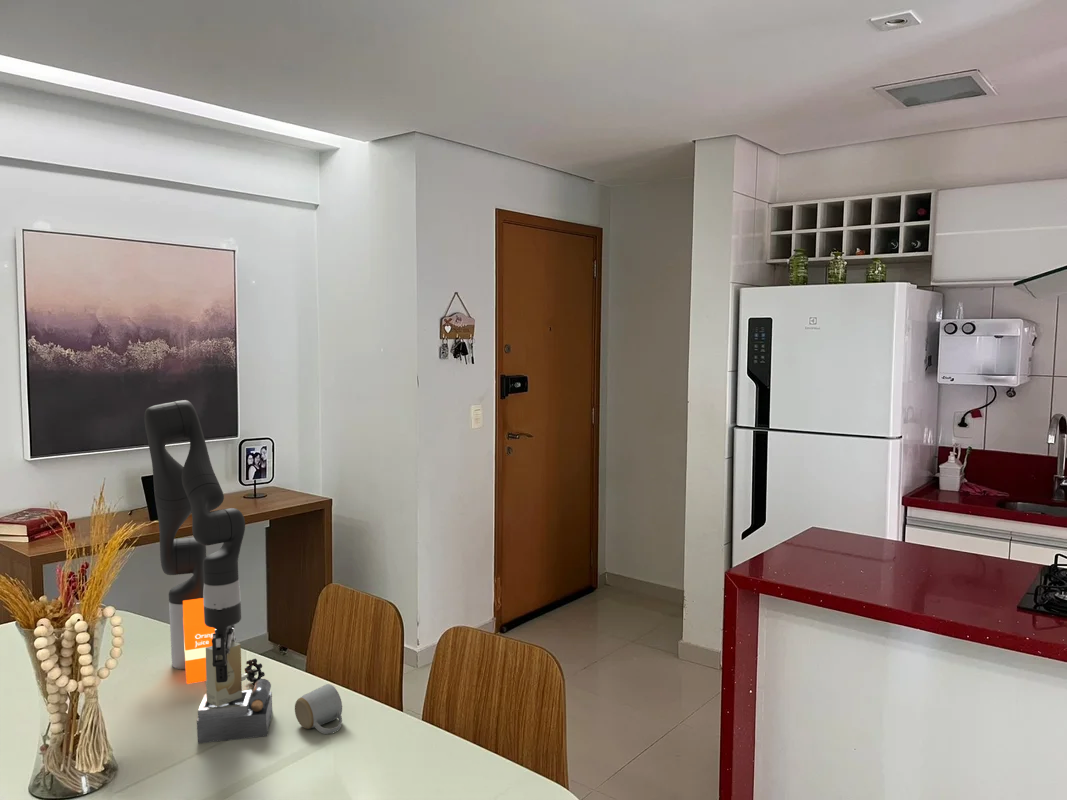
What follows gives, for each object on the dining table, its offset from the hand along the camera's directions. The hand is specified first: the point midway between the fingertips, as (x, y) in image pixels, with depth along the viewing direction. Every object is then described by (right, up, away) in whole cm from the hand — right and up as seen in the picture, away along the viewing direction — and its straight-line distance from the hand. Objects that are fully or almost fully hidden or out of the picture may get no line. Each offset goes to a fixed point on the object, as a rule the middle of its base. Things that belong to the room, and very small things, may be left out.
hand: (225, 673), depth 178 cm
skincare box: (0, -6, 0) cm, 6 cm away
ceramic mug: (+21, -13, +2) cm, 24 cm away
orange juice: (-16, -10, +29) cm, 34 cm away
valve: (-4, -11, +19) cm, 22 cm away
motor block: (+2, -12, +1) cm, 13 cm away
